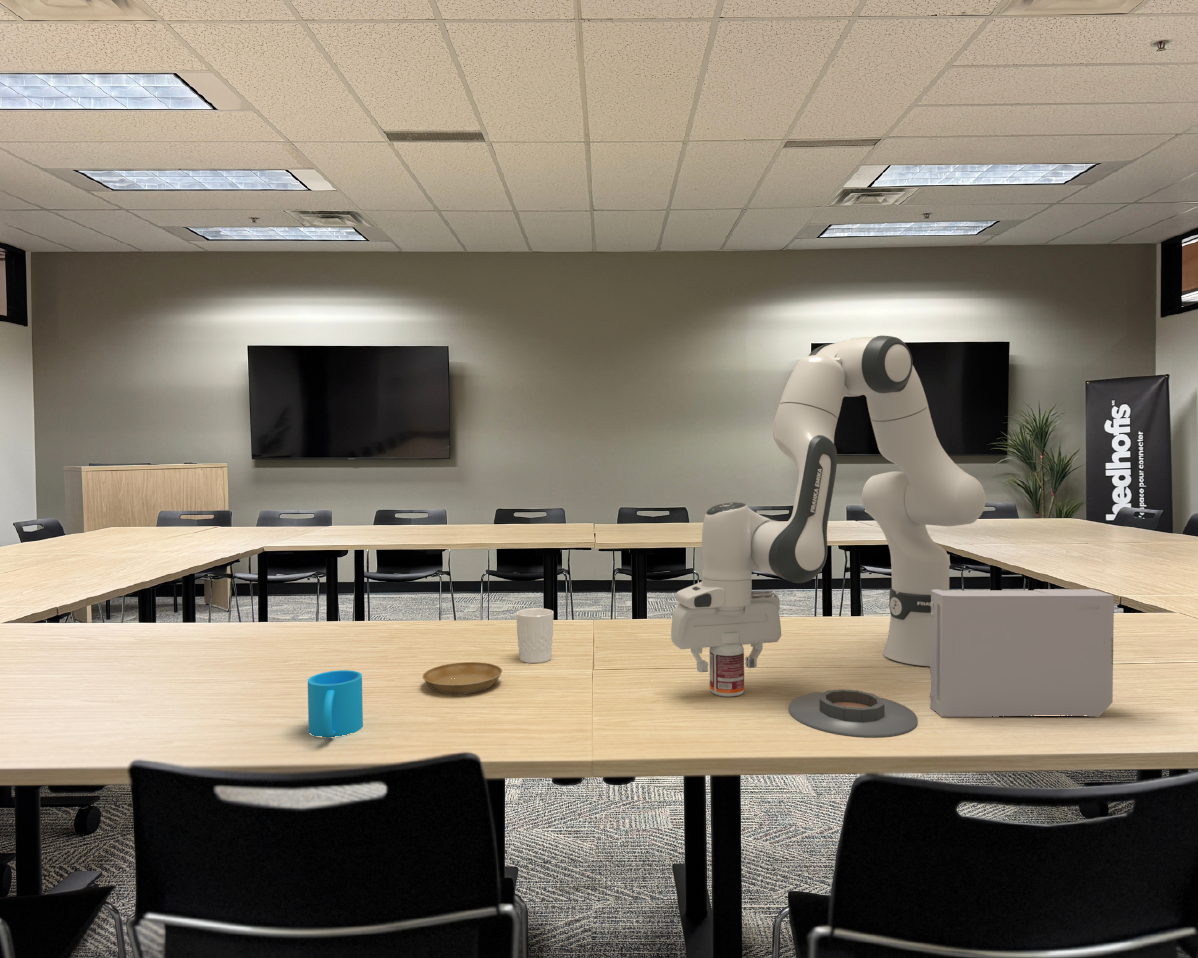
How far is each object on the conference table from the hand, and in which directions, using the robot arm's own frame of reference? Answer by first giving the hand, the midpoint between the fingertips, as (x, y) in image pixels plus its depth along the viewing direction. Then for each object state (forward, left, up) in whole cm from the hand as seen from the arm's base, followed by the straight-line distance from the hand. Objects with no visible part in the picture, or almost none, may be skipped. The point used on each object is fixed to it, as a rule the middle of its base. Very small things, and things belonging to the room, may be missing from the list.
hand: (726, 669), depth 133 cm
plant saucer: (+46, -17, -5) cm, 49 cm away
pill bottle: (0, 0, -4) cm, 4 cm away
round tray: (-15, +16, -4) cm, 22 cm away
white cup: (+30, -31, -4) cm, 43 cm away
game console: (-42, +22, -4) cm, 48 cm away
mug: (+67, +2, -4) cm, 67 cm away
